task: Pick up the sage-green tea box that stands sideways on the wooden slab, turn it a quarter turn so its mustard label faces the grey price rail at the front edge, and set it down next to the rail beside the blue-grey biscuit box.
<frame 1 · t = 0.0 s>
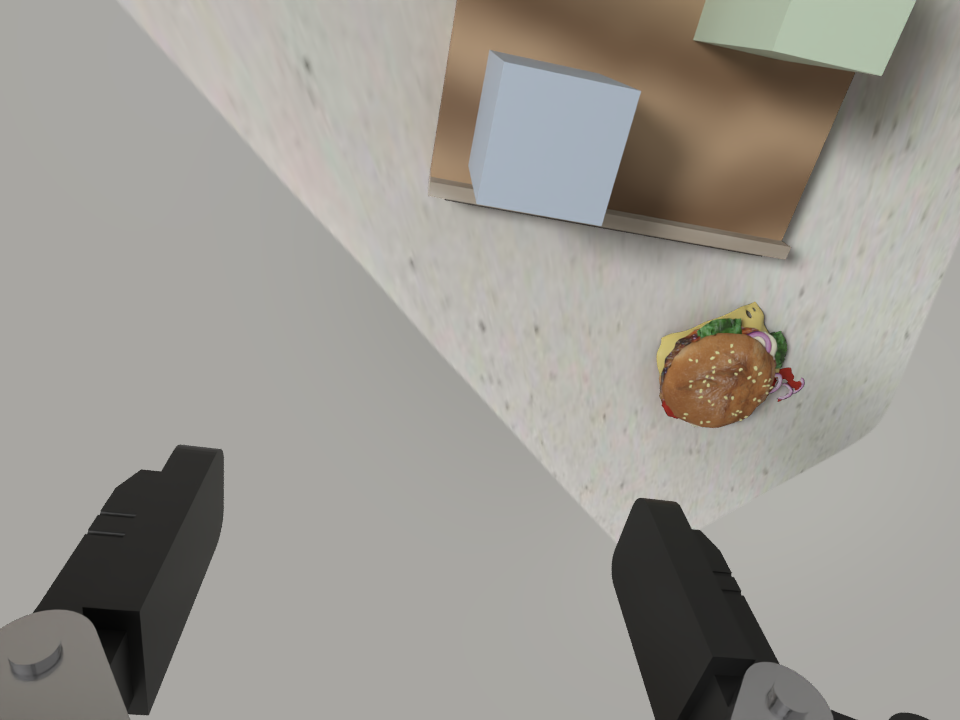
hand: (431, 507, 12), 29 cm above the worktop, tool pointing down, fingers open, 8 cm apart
hamburger: (732, 362, 47), on the worktop
wooden slab: (652, 42, 35), on the worktop
biscuit box: (531, 120, 35), point 2 cm above the worktop, touching wooden slab
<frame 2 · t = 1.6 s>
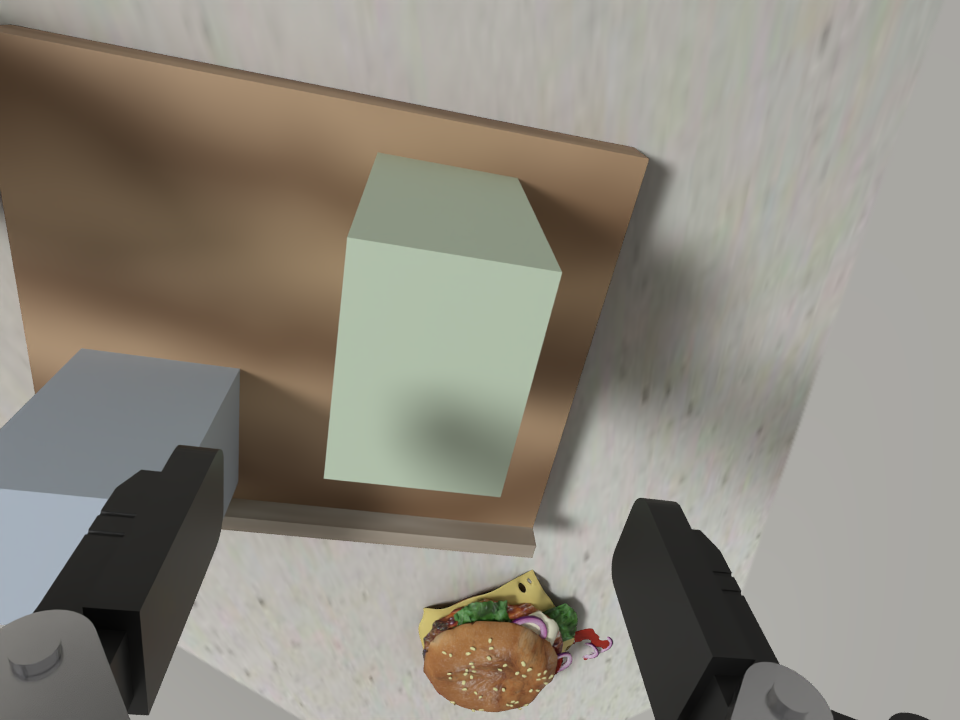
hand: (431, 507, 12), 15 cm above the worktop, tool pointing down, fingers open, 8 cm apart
tea box: (433, 258, 24), point 2 cm above the worktop, touching wooden slab
hamburger: (523, 621, 39), on the worktop
wooden slab: (325, 314, 27), on the worktop
biscuit box: (165, 419, 27), point 2 cm above the worktop, touching wooden slab
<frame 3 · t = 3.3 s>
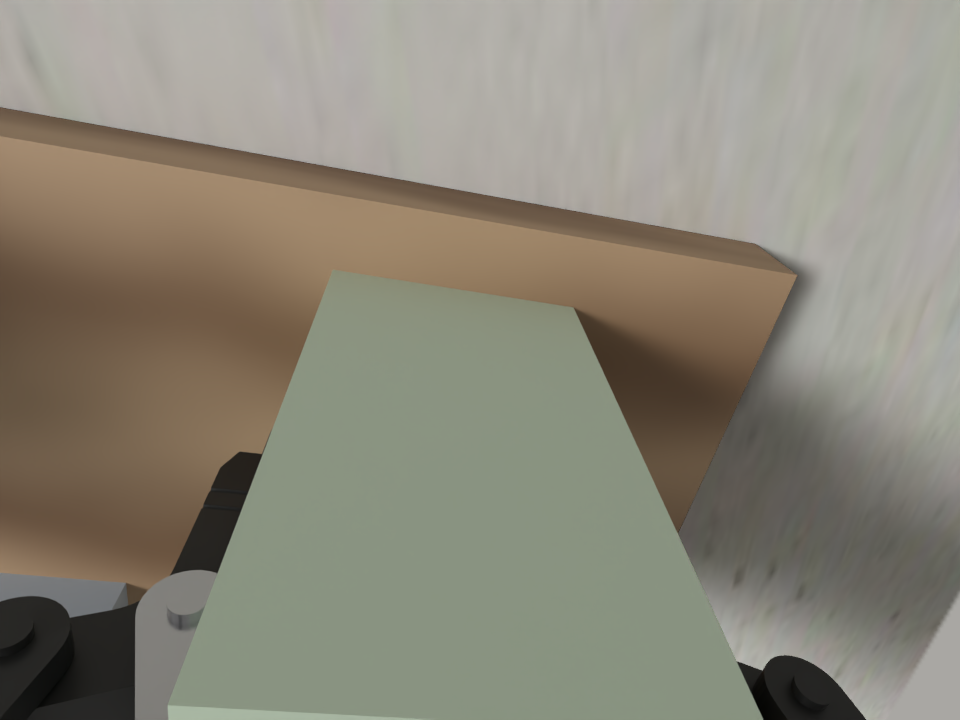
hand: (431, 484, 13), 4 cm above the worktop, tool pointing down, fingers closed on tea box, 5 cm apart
tea box: (429, 427, 15), point 2 cm above the worktop, touching gripper, wooden slab
wooden slab: (265, 484, 18), on the worktop
biscuit box: (17, 649, 17), point 2 cm above the worktop, touching wooden slab
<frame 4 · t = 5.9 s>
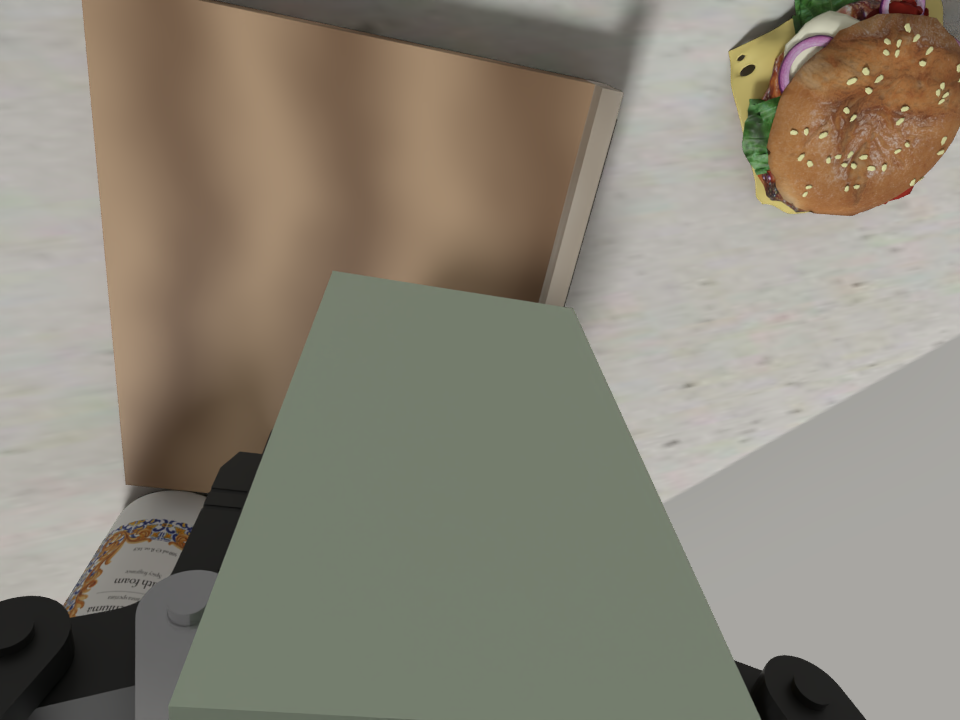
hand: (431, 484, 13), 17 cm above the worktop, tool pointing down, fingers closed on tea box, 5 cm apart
bath foam: (185, 530, 36), on the worktop
tea box: (429, 428, 15), point 15 cm above the worktop, touching gripper
hamburger: (843, 54, 26), on the worktop
wooden slab: (334, 294, 29), on the worktop
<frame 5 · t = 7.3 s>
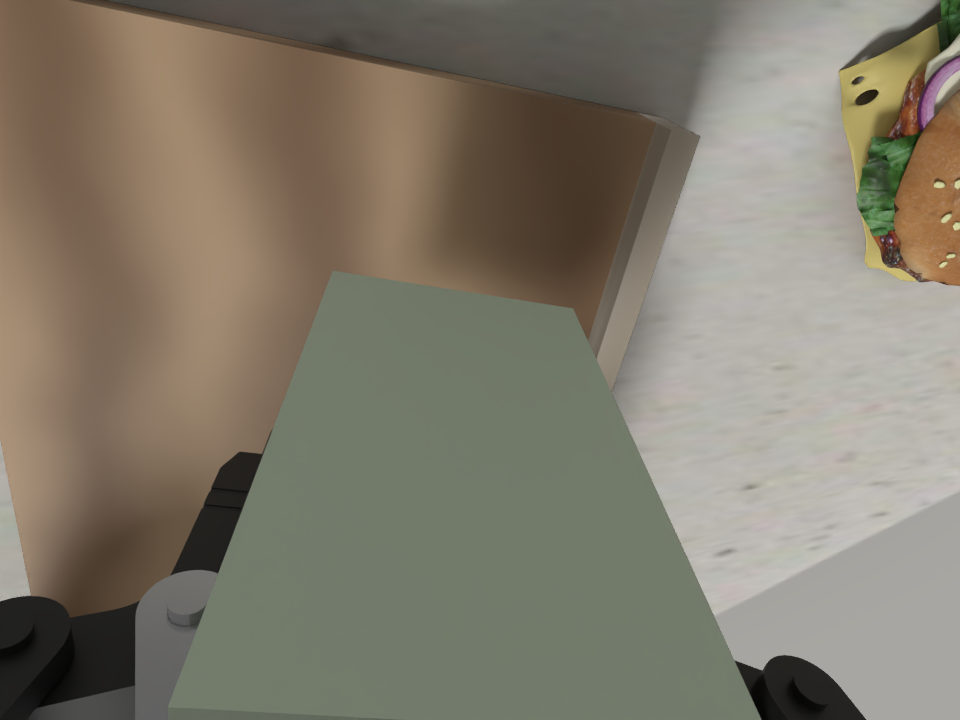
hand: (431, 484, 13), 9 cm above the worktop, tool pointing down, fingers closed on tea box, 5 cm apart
tea box: (429, 428, 15), point 8 cm above the worktop, touching gripper
wooden slab: (301, 385, 23), on the worktop
when the fingers open (5 cm above the worktop, at t = 8.6 s): tea box stays where it is, resting on wooden slab.
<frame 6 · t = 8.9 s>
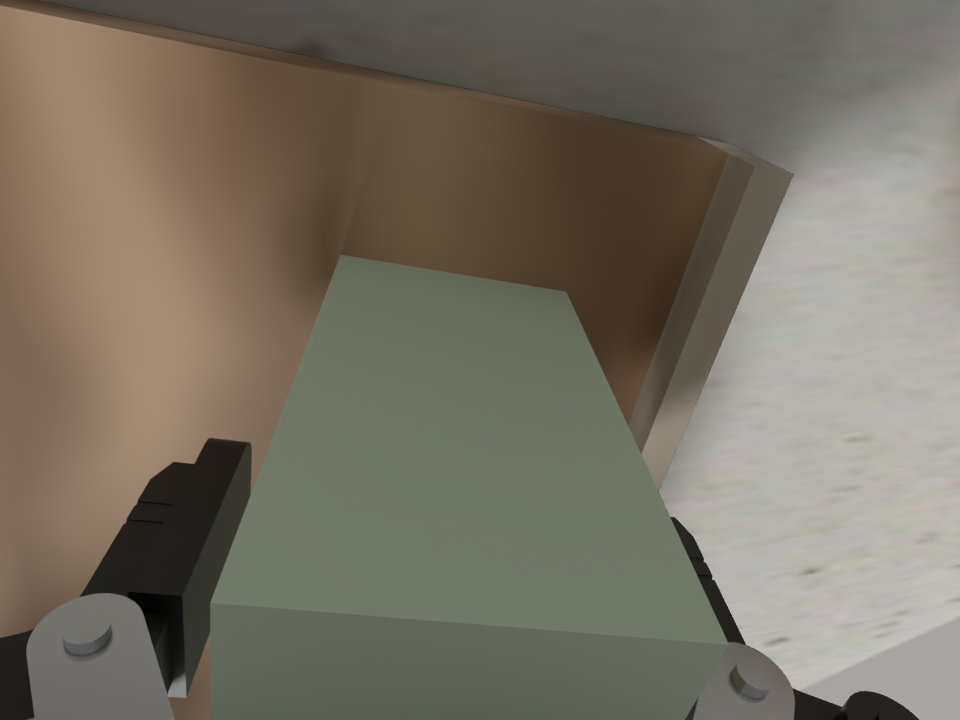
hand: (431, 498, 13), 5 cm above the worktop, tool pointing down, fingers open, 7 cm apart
tea box: (430, 406, 15), point 2 cm above the worktop, touching wooden slab
wooden slab: (274, 464, 18), on the worktop
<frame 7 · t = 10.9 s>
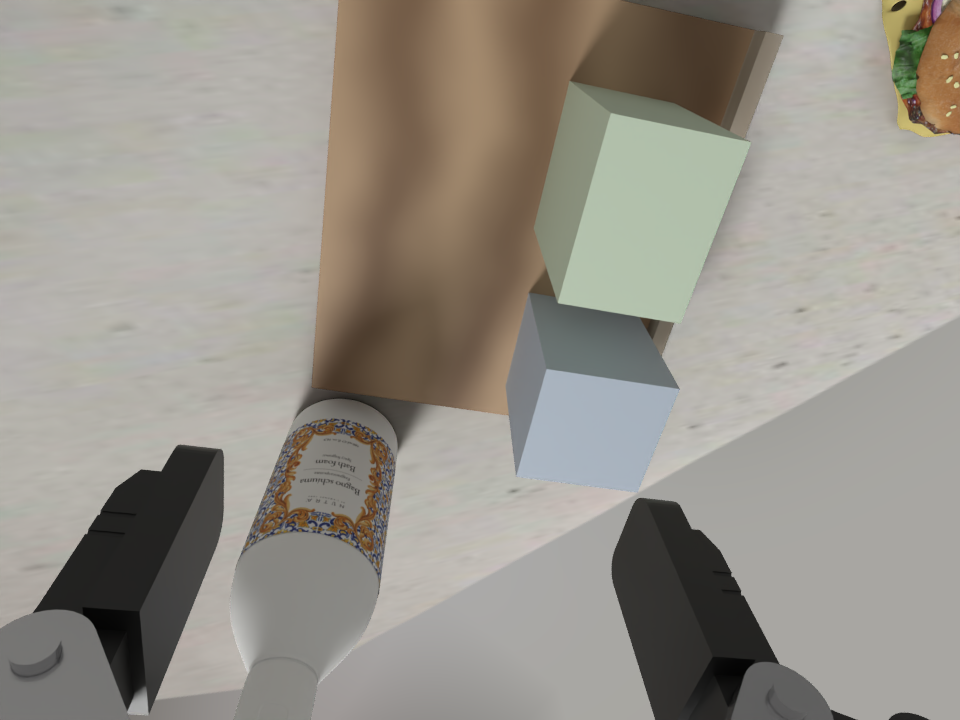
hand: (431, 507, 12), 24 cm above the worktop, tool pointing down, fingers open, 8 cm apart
bath foam: (345, 437, 41), on the worktop
tea box: (600, 168, 31), point 2 cm above the worktop, touching wooden slab
wooden slab: (501, 220, 34), on the worktop
biscuit box: (568, 349, 36), point 2 cm above the worktop, touching wooden slab
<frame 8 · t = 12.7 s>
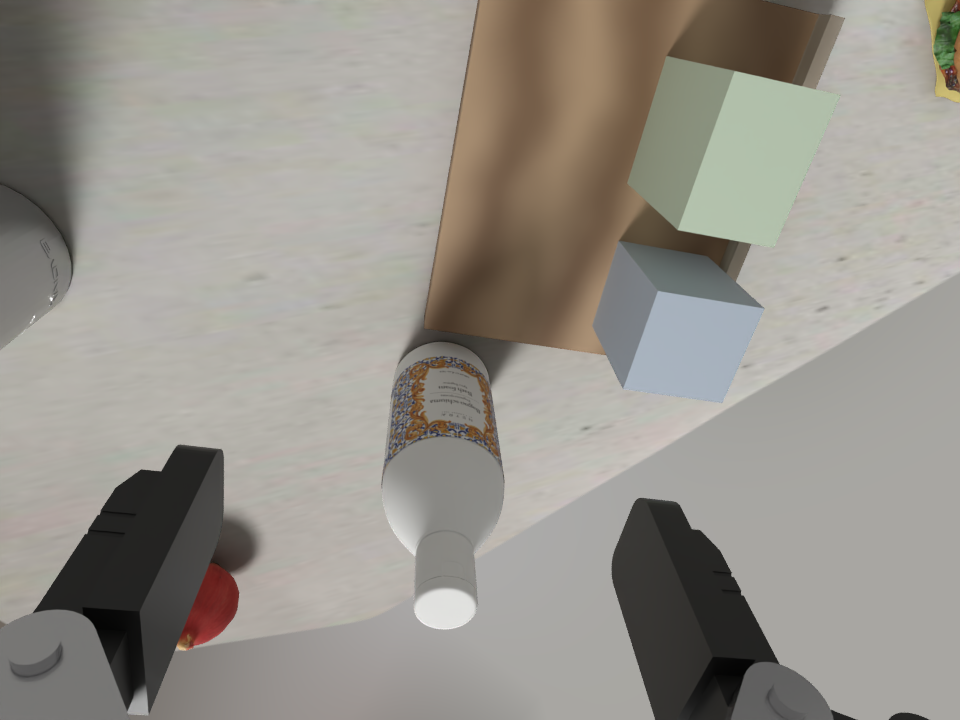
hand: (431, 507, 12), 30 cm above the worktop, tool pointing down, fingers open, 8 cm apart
bath foam: (441, 379, 46), on the worktop
tea box: (686, 131, 37), point 2 cm above the worktop, touching wooden slab
onion: (213, 564, 54), on the worktop
wooden slab: (594, 179, 40), on the worktop
biscuit box: (648, 291, 41), point 2 cm above the worktop, touching wooden slab
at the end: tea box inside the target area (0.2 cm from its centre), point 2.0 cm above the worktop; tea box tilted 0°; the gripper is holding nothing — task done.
